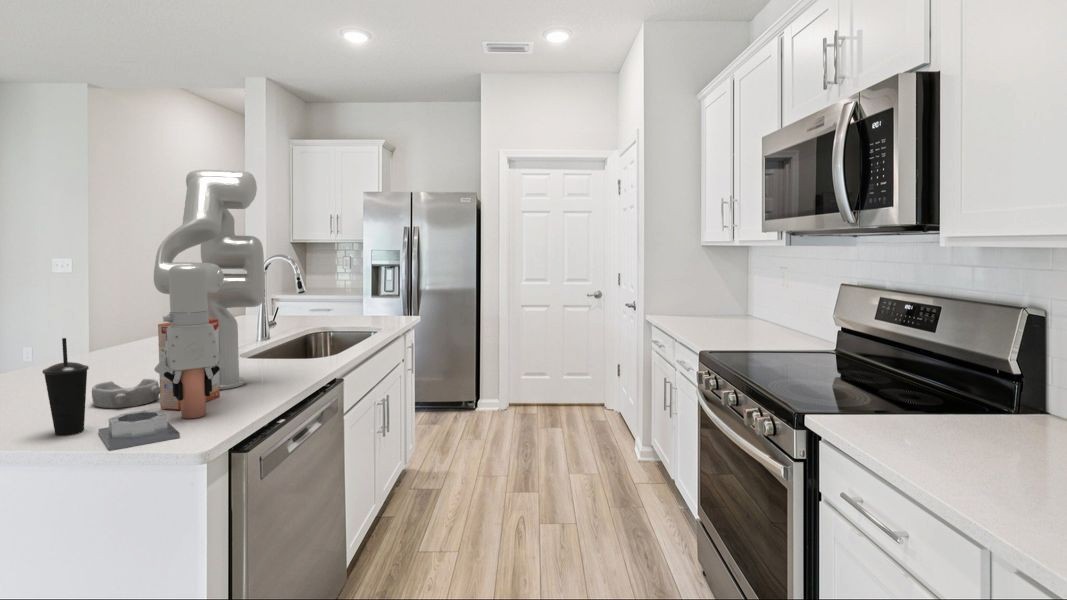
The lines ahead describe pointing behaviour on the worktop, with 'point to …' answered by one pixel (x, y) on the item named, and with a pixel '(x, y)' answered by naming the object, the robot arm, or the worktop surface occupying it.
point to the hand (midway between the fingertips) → (193, 396)
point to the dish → (125, 394)
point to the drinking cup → (67, 394)
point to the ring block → (137, 429)
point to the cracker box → (165, 384)
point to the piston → (193, 393)
